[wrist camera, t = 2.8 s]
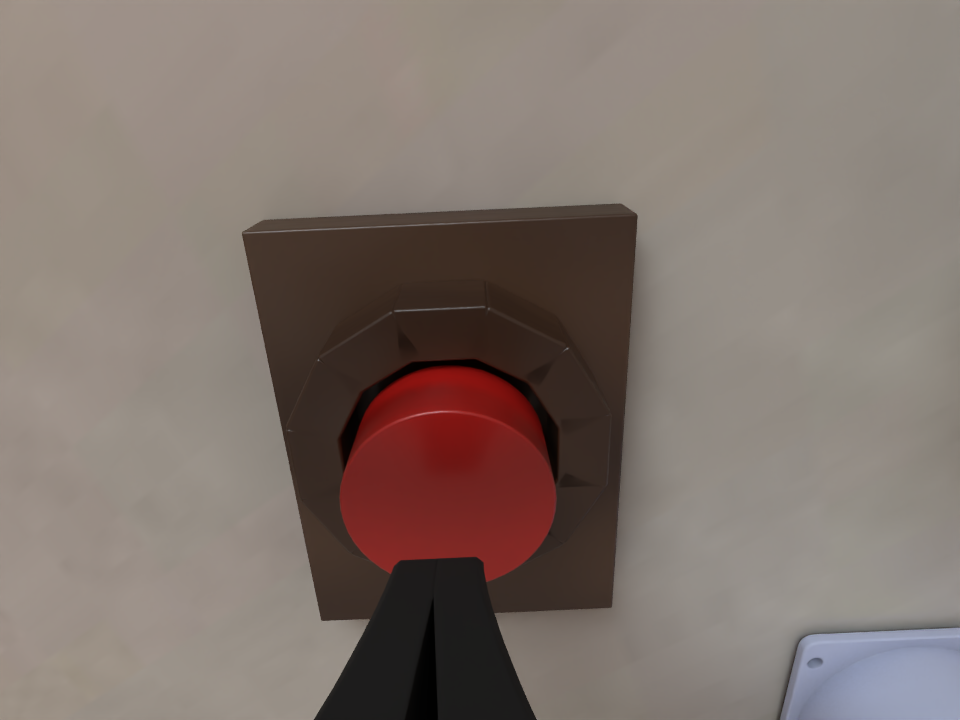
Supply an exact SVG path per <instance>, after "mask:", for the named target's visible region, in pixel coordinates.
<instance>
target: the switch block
mask: <svg viewBox="0 0 960 720" xmlns="http://www.w3.org/2000/svg"><path fill="white" fill-rule="evenodd" d="M636 232H637V214H636V213H635V212H633V211H632V210H630V209H629V208H627V207H626V206H624V205H622V204H602V205H580V206H559V207H537V208H515V209H493V210H471V211H449V212H427V213H406V214H384V215H362V216H340V217H318V218H296V219H274V220H263V221H261V222H259V223H257V224H256V225H254V226H252V227H250V228H249V229H247V230H245V231H243V232H242V236H243V241H244V246H245V251H246V256H247V261H248V265H249V270H250V275H251V280H252V285H253V290H254V295H255V300H256V304H257V309H258V314H259V319H260V324H261V329H262V334H263V338H264V343H265V348H266V353H267V358H268V363H269V368H270V373H271V377H272V382H273V387H274V392H275V397H276V402H277V407H278V412H279V416H280V421H281V426H282V431H283V436H284V441H285V446H286V451H287V455H288V460H289V465H290V470H291V475H292V480H293V485H294V490H295V494H296V499H297V504H298V509H299V514H300V519H301V524H302V529H303V533H304V538H305V543H306V548H307V553H308V558H309V563H310V567H311V572H312V577H313V582H314V587H315V592H316V597H317V602H318V606H319V611H320V616H321V620H322V621H330V620H352V619H371V617H372V615H373V613H374V611H375V609H376V607H377V605H378V602H379V600H380V598H381V596H382V594H383V591H384V589H385V587H386V584H387V582H388V580H389V577H390V575H391V574H390V573H388V572H387V571H385V570H383V569H381V568H380V567H379V566H377V565H376V564H375V563H373V562H372V561H371V560H370V559H368V558H367V557H366V556H365V555H364V554H363V553H362V552H361V551H360V549H359V548H358V547H357V546H356V544H355V543H354V541H353V540H352V538H351V537H350V535H349V533H348V531H347V529H346V526H345V524H344V521H343V518H342V514H341V510H340V499H339V497H340V485H341V481H342V477H343V473H344V470H345V467H346V464H347V461H348V458H349V455H350V452H351V449H352V446H353V443H354V440H355V437H356V434H357V432H358V429H359V426H360V423H361V420H362V418H363V415H364V413H365V411H366V410H367V408H368V406H369V405H370V403H371V402H372V401H373V400H374V398H375V397H376V396H377V395H378V394H379V393H380V392H381V391H382V390H383V389H384V388H385V387H386V386H388V385H389V384H391V383H392V382H394V381H395V380H397V379H399V378H400V377H402V376H404V375H406V374H409V373H411V372H414V371H417V370H420V369H424V368H428V367H433V366H442V365H459V366H466V367H472V368H476V369H480V370H484V371H486V372H489V373H491V374H494V375H496V376H498V377H500V378H502V379H503V380H505V381H507V382H508V383H510V384H511V385H512V386H514V387H515V388H517V389H518V390H519V391H520V392H521V393H522V394H523V395H524V396H525V397H526V399H527V400H528V401H529V402H530V404H531V405H532V406H533V408H534V410H535V412H536V413H537V415H538V417H539V420H540V423H541V425H542V429H543V433H544V438H545V442H546V447H547V451H548V455H549V460H550V464H551V469H552V473H553V477H554V482H555V486H556V497H557V502H556V512H555V515H554V519H553V523H552V525H551V528H550V530H549V532H548V534H547V536H546V538H545V539H544V541H543V543H542V544H541V545H540V547H539V548H538V549H537V550H536V552H535V553H534V554H533V555H532V556H531V557H530V558H529V559H528V560H526V561H525V562H524V563H523V564H521V565H520V566H519V567H517V568H516V569H514V570H513V571H511V572H509V573H507V574H505V575H503V576H501V577H499V578H496V579H494V580H491V581H488V582H486V584H487V588H488V593H489V597H490V600H491V604H492V608H493V611H494V613H505V612H527V611H548V610H570V609H592V608H611V607H612V598H613V582H614V567H615V552H616V537H617V521H618V506H619V491H620V476H621V460H622V445H623V430H624V415H625V399H626V384H627V369H628V354H629V338H630V323H631V308H632V293H633V277H634V262H635V247H636Z"/></svg>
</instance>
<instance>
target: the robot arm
mask: <svg viewBox="0 0 960 720" xmlns="http://www.w3.org/2000/svg"><path fill="white" fill-rule="evenodd" d="M314 720H537V719H536V717H535V715H534V713H533V711H532V709H531V707H530V704H529V702H528V700H527V698H526V695H525V693H524V691H523V688H522V686H521V684H520V681H519V679H518V676H517V674H516V671H515V669H514V666H513V664H512V661H511V659H510V656H509V654H508V651H507V649H506V646H505V644H504V641H503V638H502V635H501V632H500V630H499V627H498V623H497V620H496V617H495V614H494V611H493V608H492V604H491V600H490V597H489V593H488V588H487V584H486V578H485V573H484V562H483V561H481V560H480V559H479V558H478V557H458V558H437V559H415V560H400V561H399V562H398V563H397V564H396V565H394V567H393V569H392V572H391V575H390V577H389V580H388V582H387V584H386V587H385V589H384V591H383V594H382V596H381V598H380V600H379V602H378V605H377V607H376V609H375V611H374V613H373V615H372V617H371V619H370V621H369V623H368V625H367V627H366V629H365V631H364V633H363V635H362V637H361V639H360V640H359V642H358V644H357V646H356V648H355V650H354V651H353V653H352V655H351V657H350V659H349V661H348V662H347V664H346V666H345V668H344V670H343V672H342V673H341V675H340V677H339V679H338V681H337V682H336V684H335V686H334V687H333V689H332V691H331V693H330V694H329V696H328V697H327V699H326V701H325V702H324V704H323V706H322V707H321V709H320V710H319V712H318V714H317V715H316V717H315V719H314ZM780 720H960V628H938V629H916V630H894V631H872V632H850V633H829V634H812V635H808V636H806V637H804V638H803V639H802V640H801V641H800V643H799V645H798V648H797V652H796V656H795V660H794V664H793V668H792V672H791V676H790V680H789V684H788V688H787V693H786V697H785V701H784V705H783V709H782V713H781V717H780Z"/></svg>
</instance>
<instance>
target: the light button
mask: <svg viewBox="0 0 960 720" xmlns="http://www.w3.org/2000/svg"><path fill="white" fill-rule="evenodd" d="M339 499H340V510H341V514H342V518H343V521H344V524H345V526H346V529H347V531H348V533H349V535H350V537H351V538H352V540H353V541H354V543H355V544H356V546H357V547H358V548H359V549H360V551H361V552H362V553H363V554H364V555H365V556H366V557H367V558H368V559H370V560H371V561H372V562H373V563H375V564H376V565H377V566H379V567H380V568H381V569H383V570H385V571H387V572H388V573H390V574H391V572H392V569H393V567H394V565H396V564H397V563H398V562H399V561H400V560H415V559H437V558H458V557H478V558H479V559H480V560H481V561H483V562H484V573H485V578H486V582H488V581H491V580H494V579H496V578H499V577H501V576H503V575H505V574H507V573H509V572H511V571H513V570H514V569H516V568H517V567H519V566H520V565H521V564H523V563H524V562H525V561H526V560H528V559H529V558H530V557H531V556H532V555H533V554H534V553H535V552H536V550H537V549H538V548H539V547H540V545H541V544H542V543H543V541H544V539H545V538H546V536H547V534H548V532H549V530H550V528H551V525H552V523H553V519H554V515H555V512H556V502H557V497H556V486H555V482H554V477H553V473H552V469H551V464H550V460H549V455H548V451H547V447H546V442H545V438H544V433H543V429H542V425H541V423H540V420H539V417H538V415H537V413H536V412H535V410H534V408H533V406H532V405H531V404H530V402H529V401H528V400H527V399H526V397H525V396H524V395H523V394H522V393H521V392H520V391H519V390H518V389H517V388H515V387H514V386H512V385H511V384H510V383H508V382H507V381H505V380H503V379H502V378H500V377H498V376H496V375H494V374H491V373H489V372H486V371H484V370H480V369H476V368H472V367H466V366H459V365H442V366H433V367H428V368H424V369H420V370H417V371H414V372H411V373H409V374H406V375H404V376H402V377H400V378H399V379H397V380H395V381H394V382H392V383H391V384H389V385H388V386H386V387H385V388H384V389H383V390H382V391H381V392H380V393H379V394H378V395H377V396H376V397H375V398H374V400H373V401H372V402H371V403H370V405H369V406H368V408H367V410H366V411H365V413H364V415H363V418H362V420H361V423H360V426H359V429H358V432H357V434H356V437H355V440H354V443H353V446H352V449H351V452H350V455H349V458H348V461H347V464H346V467H345V470H344V473H343V477H342V481H341V485H340V497H339Z"/></svg>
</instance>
